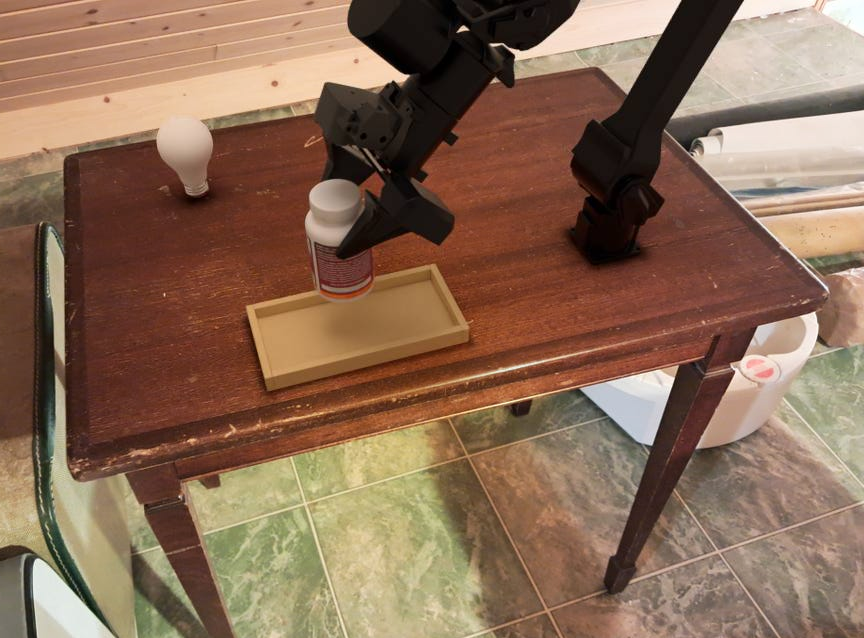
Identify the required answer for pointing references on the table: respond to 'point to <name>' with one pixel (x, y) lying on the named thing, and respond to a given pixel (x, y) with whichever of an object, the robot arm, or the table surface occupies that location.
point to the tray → (355, 327)
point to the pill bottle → (337, 242)
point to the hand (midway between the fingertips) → (325, 236)
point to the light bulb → (187, 151)
